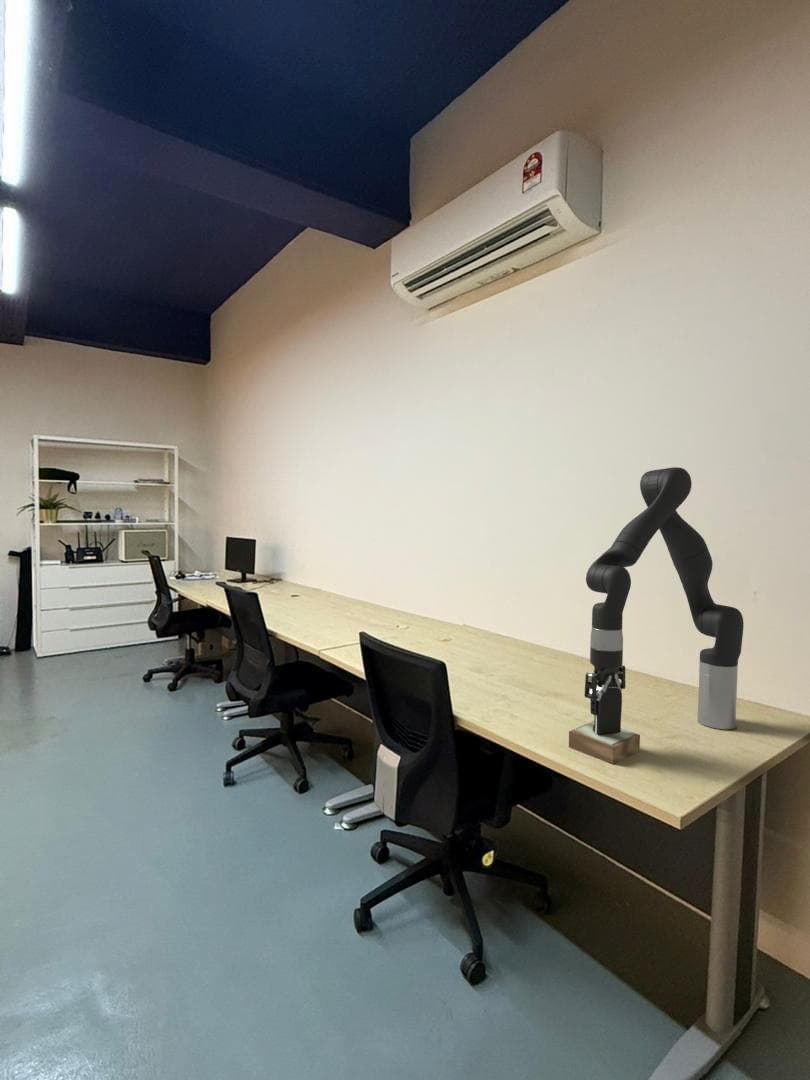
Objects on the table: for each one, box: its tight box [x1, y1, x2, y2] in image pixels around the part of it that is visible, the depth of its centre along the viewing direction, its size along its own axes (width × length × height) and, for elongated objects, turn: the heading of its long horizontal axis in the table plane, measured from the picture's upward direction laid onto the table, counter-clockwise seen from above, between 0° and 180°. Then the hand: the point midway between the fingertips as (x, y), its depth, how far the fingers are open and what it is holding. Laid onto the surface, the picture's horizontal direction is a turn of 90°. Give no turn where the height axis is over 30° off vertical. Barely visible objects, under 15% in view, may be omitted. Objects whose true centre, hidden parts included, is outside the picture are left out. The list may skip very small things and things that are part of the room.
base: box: [568, 721, 641, 765], centre depth 136 cm, size 12×12×4 cm
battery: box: [593, 685, 623, 735], centre depth 136 cm, size 7×4×11 cm, turn 106°
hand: (605, 710), depth 136 cm, fingers open, 8 cm apart
